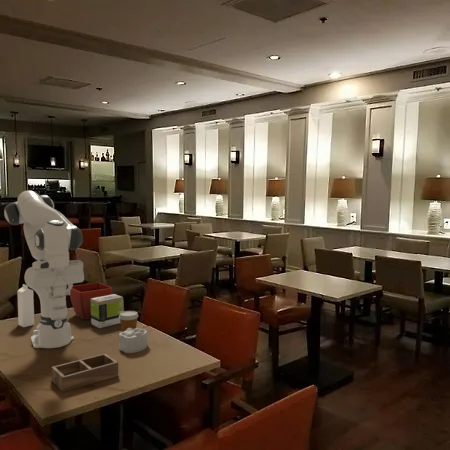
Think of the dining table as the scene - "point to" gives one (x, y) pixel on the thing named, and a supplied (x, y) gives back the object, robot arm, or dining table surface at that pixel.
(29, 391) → the dining table surface
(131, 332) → the lumpy-topped squat cylinder
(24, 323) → the milk
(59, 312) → the metal bottle
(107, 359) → the bottle carrier
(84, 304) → the plant pot
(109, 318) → the tea box
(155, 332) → the dining table surface
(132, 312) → the disposable coffee cup
